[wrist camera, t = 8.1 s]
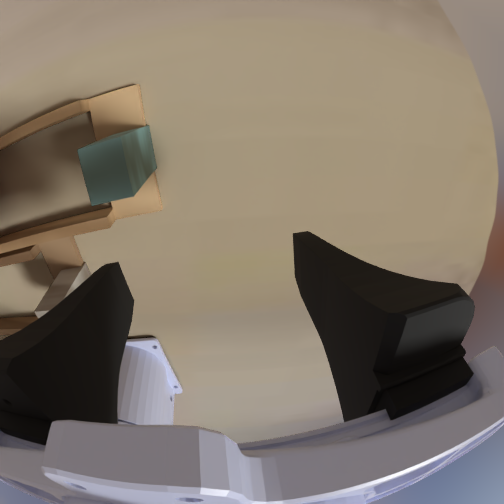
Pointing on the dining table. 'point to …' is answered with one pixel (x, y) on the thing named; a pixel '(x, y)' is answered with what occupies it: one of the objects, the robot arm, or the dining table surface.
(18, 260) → the lane empty
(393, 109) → the dining table surface
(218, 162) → the dining table surface
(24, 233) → the wooden divided tray
